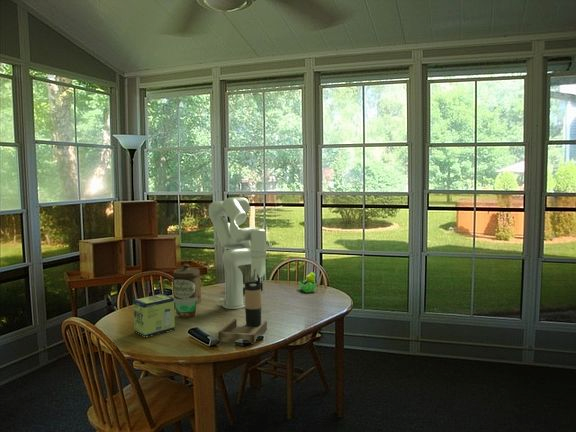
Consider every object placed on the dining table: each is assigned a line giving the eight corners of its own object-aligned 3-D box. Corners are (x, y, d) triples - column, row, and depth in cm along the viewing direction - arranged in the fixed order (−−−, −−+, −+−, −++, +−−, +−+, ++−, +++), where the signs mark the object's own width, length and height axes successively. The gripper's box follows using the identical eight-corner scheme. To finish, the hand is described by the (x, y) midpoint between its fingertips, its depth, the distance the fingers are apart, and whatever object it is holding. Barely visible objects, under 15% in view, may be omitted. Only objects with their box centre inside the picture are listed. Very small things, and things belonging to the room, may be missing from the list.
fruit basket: (298, 289, 298) (298, 271, 297) (311, 287, 301) (311, 270, 300) (304, 293, 287) (304, 274, 286) (318, 292, 290) (318, 273, 289)
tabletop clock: (264, 289, 298) (263, 249, 296) (255, 292, 291) (254, 251, 288) (245, 286, 306) (244, 247, 304) (236, 289, 298) (235, 249, 296)
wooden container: (169, 305, 265) (168, 265, 263) (181, 298, 279) (180, 261, 277) (194, 306, 261) (193, 266, 259) (205, 299, 276) (204, 261, 274)
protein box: (133, 333, 219) (132, 299, 217) (164, 325, 229) (162, 293, 228) (144, 338, 211) (143, 304, 210) (175, 330, 222) (174, 297, 221)
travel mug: (253, 321, 233) (252, 281, 232) (264, 324, 229) (264, 283, 227) (242, 325, 228) (241, 284, 226) (253, 328, 223) (253, 286, 221)
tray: (218, 341, 206) (218, 332, 205) (234, 327, 225) (234, 318, 225) (254, 344, 202) (253, 335, 202) (266, 329, 221) (266, 320, 221)
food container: (174, 320, 237) (173, 300, 236) (173, 316, 243) (173, 297, 242) (199, 318, 240) (198, 298, 239) (198, 314, 246) (197, 295, 245)
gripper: (255, 251, 243) (256, 287, 244) (246, 256, 228) (247, 294, 230) (269, 251, 241) (270, 287, 243) (261, 256, 227) (262, 294, 228)
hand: (259, 290), depth 236 cm, fingers closed
